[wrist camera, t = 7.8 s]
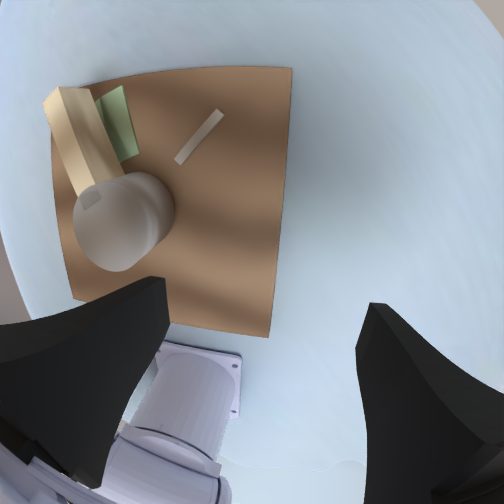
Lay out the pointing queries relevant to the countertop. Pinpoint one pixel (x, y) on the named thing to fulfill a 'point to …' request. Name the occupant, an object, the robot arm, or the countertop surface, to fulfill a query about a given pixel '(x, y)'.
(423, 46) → the countertop surface
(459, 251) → the countertop surface
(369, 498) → the robot arm
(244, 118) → the base
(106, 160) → the beige elongated block piece
